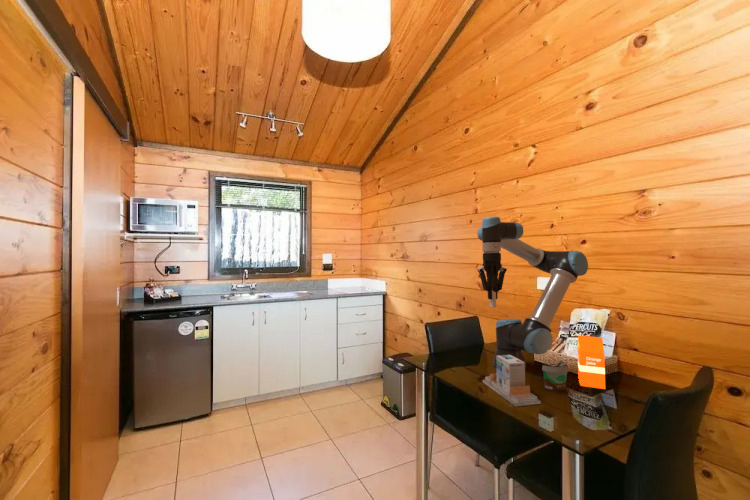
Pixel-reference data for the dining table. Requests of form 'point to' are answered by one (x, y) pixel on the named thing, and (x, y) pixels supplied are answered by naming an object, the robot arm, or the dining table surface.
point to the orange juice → (591, 362)
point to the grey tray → (512, 392)
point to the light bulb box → (510, 371)
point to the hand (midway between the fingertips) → (492, 306)
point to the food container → (555, 376)
